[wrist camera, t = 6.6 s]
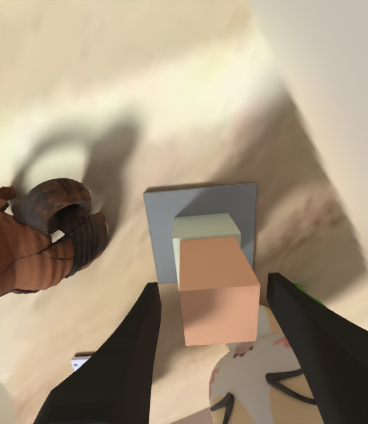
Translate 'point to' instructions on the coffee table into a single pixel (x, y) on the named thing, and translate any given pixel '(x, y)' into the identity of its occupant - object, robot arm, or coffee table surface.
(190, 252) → the brick
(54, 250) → the brown ring with handle
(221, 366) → the kitten
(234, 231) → the brick
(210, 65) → the coffee table surface
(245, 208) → the plate
